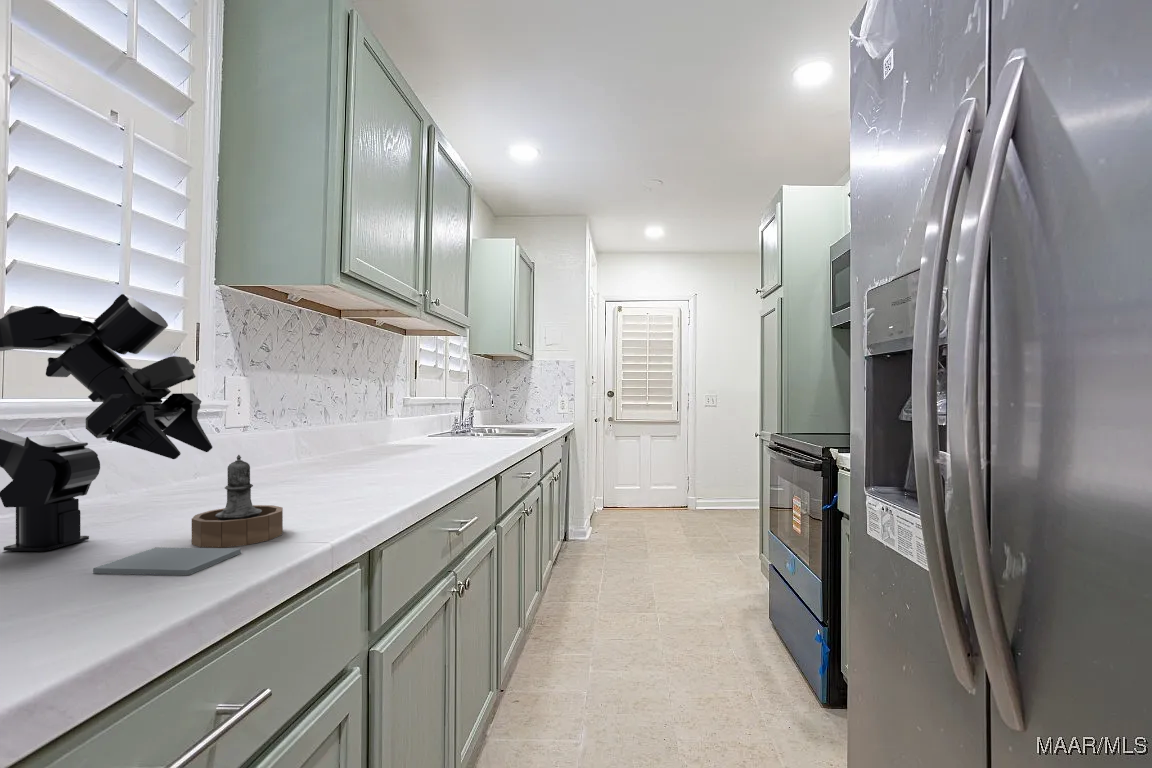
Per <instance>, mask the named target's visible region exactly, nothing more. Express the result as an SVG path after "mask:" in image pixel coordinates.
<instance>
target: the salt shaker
mask: <svg viewBox="0 0 1152 768" xmlns="http://www.w3.org/2000/svg"><path fill="white" fill-rule="evenodd" d="M252 487H254V485H253V484H251V466H250V463H248V462H247V461H244V460H243V459H242V456H241V455H240V454H237V457H236V460H235V461H233V462H231V463H229V465H228V466H227V485H226V486H224V489H225V490H226V505H225V507H224V508H225V509H224V510H223V511H222V512H220V513H217V514H216V515H215V516H216V517H217V518H218V520H235V519H246V518H252V517H257V516H260V513H261V512H262V510H261V509H256V508H255V507H253V505H254V504H253V502H252V497H251V496H252V495H251V494H252V493H251V491H252V490H251V488H252Z"/></svg>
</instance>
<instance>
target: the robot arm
mask: <svg viewBox="0 0 1152 768" xmlns="http://www.w3.org/2000/svg"><path fill="white" fill-rule="evenodd" d="M167 327H169V324H168V322H167V321H166V319H164V317H163V316H162V315H160V313H158V312H157V311H154V310H152V309H151V308H150V307H148V306H146V305H145V304H144V303H142V302H140V301H137V300H136V299H135V298H134V296H132V295H130V294H129V295H128V294H123V293H122V294H120V295H119V296H118V297H117V298H116V299H115V300H114V301H113V303H112V304H111V305H110V306H108V308H106V310H104V311H103V312H102V313H101V314H100V315H99V316H98V317H97V318H95V319H93V318H87V317H84V316H83V315H81V314H80V313H78V312H76V311H70V310H67V309H60V308H56V307H55V308H54V307H49V306H44V305H33V306H30V307H26V308H22V309H20V310H16V311H13V312H9V313H7V314H6V315H4V316H2V317H1V318H0V352H5V351H11V350H13V351H14V350H30V351H55V352H56V351H60V352H61V351H62V352H63V353H61V354H60V355H59V356H58V357H51V356H50V357H48V358H47V366H46V369H45V377H49V378H68V377H69V376H70V375H71V376H72V377H74V378H75V380H77V381H78V383H80V384H82V386H83V387H85V388H86V389H87V390H88V391H89V392H91V393H90V395H88V396H87V398H88V399H89V400H90V401H92V403H101V404H99V406H98V407H96V408H95V409H94V410H93V411H92V412H91V413H90V414H89V415H87V416H86V417H85V430H86V431H88V432H89V433H90V434H91V435H92V436H94V437H95V438H96V439H103V438H105V440H107V441H109V442H116V443H119V444H121V445H126V446H130V447H133V448H137V449H139V450H143V451H146V452H148V453H149V452H150V453H152V454H155V455H159V456H161V457H165V458H168V459H172V460H176V459H178V458H179V457H180V456H181V454H182V453H181V451H180V450H179V449H178V448H177V446H176V445H175V444H174V442H173V441H172V439H175V440H177V441H180V442H181V443H183V444H186V445H188V446H190V447H193V448H195V449H197V450H200V451H202V452H204V453H209V452H210V451H211V450H212V449H213V445H212V443H211V441H210V440H209V438H208V436H207V435H206V432H205V431H204V429H203V428H202V426H201V424H200V421H199V419H198V412H199V410H200V409H201V404H202V400H201V399H200V398H198V397H197V395H195V394H194V392H193V393H191V392H190V393H189V392H187V393H186V392H184V393H183V392H181V393H176V392H175V393H171V392H172V391H171V390H170V389H169V388H171V387H173V386H176V385H179V384H181V383H183V382H186V381H191V380H193V379H195V378H196V377H197V376H196V374H195V372H194V370H195V368H196V366H195V364H193V363H192V362H191V361H190V360H189V359H188V358H187V357H185V356H184V357H183V356H176V355H172V356H168V357H164V358H162V359H160V360H158V361H155V362H153V363H151V364H148V365H147V366H144V367H142V368H136V367H135V368H133V367H132V366H131V365H130V364H129V363H128V362H127V361H125V360H124V359H123V358H122V356H120V355H126V354H127V353H129V354H133V355H138V354H139V353H141V351H143V350H144V349H145V348H146V347H147V346H148V345H149V344H151V343H152V341H153V340H154V339H156V338H157V337H158V336H159V335H160V334H161V333H162V332H163V331H164V330H165V329H166V328H167ZM117 353H118V354H120V355H118V354H117ZM170 394H171V395H170ZM168 395H169V396H168ZM167 396H168V397H167ZM166 397H167V398H166ZM164 398H166V399H165V400H164V401H163V400H162V399H164ZM169 437H171V438H172V439H170V438H169ZM88 445H89V443H88V442H79V441H75V440H73V439H71V438H70V437H67V436H65V435H62V434H60V433H54V434H53V433H52V434H43V435H34V436H26V437H24V436H19V435H17V434H14V433H12V432H8V431H5V430H2V429H0V468H2V469H3V470H4V471H5V472H6V474H7V475H8V476H9V477H10V479H11V481H10V482H9V483H8V484H7V485H6V486H4V487H3V488H2V489H1V490H0V500H1V503H2V505H3V507H4V508H15V543H14V544H10V545H6V546H3V551H9V552H10V551H11V552H18V551H19V552H47V551H50V550H55V549H58V548H63V547H67V546H70V545H72V544H75V543H80V542H83V541H84V542H85V541H87V540H89V539H90V535H81V510H80V509H79V506H80V505H79V504H80V502H79V498H76V497H81V496H82V497H83V496H86V495H88V492H89V489H90V486H91V485H92V482H93V481H94V480H96V478H97V477H98V476H99V473H100V471H101V462H100V459H99V457H98V456H99V455H98V453H97V452H96V451H95V450H93V449H91V448H89V447H87V446H88Z"/></svg>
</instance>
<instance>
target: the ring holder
mask: <svg viewBox="0 0 1152 768" xmlns="http://www.w3.org/2000/svg"><path fill="white" fill-rule="evenodd" d="M252 505H253V507H255V508H256V509H261V510H262V512H261V513H260V516H257V517H252V518H246V519H235V520H218V518H217V517H216V516H215V515H216V514H217V513H220V512H222V511H223V510H224V509H225V507H223V508H218V509H212V510H208V511H204V512H200V513H197V514H195V515H194V516H192V518H191V545H193V546H196V547H197V548H233V547H240V546H241V547H242V546H249V545H253V544H257V543H263V542H267V541H271V540H273V539H275V538H278V537H280V536H282V535H283V531H284V526H283V524H284V523H283V522H284V520H283V517H284V516H283V514H284V513H283V512H284V509H283V507H282V506H277V505H267V504H264V505H263V504H256V505H255V504H252Z"/></svg>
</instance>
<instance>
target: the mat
mask: <svg viewBox="0 0 1152 768" xmlns="http://www.w3.org/2000/svg"><path fill="white" fill-rule="evenodd" d="M240 554H242V548H233V547H223V548H210V547H171V546H169V547H167V546H166V547H165V546H164V547H162V546H161V547H159V546H156V547H153V548H150V549H146V550H143V551H140V552H138V553H134V554H132V555H128V556H125V557H122V558H119V559H116V560H114V561H110V562H108V563H105V564H101V565H99V566H95V567H93V568H92V574H107V575H108V574H109V575H111V574H112V575H115V574H116V575H158V576H159V575H161V576H163V575H164V576H165V575H166V576H190V575H192V574H195V573H197V572H199V571H202V570H204V569H207V568H209V567H211V566H214V565H216V564H219V563H221V562H223V561H227V560H228V559H231V558H233V557H235V556H237V555H240Z"/></svg>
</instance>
